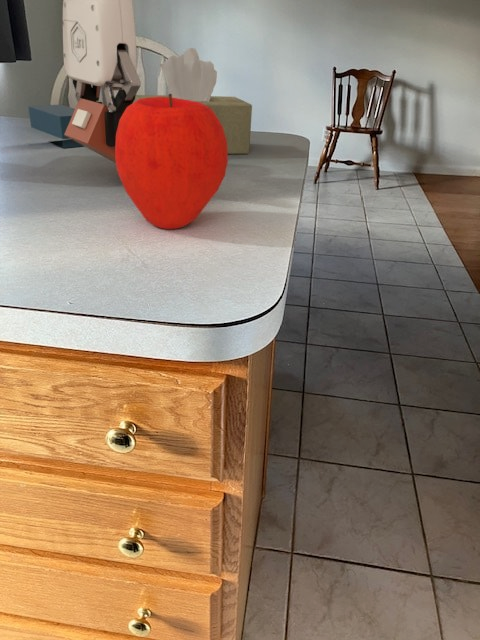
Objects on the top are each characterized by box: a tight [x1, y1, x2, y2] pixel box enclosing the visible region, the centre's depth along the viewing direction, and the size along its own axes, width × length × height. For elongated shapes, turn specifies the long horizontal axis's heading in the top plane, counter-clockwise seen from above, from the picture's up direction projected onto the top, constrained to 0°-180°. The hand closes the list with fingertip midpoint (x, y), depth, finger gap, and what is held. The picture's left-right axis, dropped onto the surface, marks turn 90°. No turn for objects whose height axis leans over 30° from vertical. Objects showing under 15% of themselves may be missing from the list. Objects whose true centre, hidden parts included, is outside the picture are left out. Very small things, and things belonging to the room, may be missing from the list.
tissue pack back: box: [28, 104, 84, 149], centre depth 94 cm, size 13×6×5 cm, turn 42°
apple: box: [115, 93, 229, 230], centre depth 57 cm, size 12×12×13 cm
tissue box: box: [133, 47, 253, 155], centre depth 91 cm, size 19×10×16 cm, turn 107°
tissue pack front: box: [64, 98, 116, 164], centre depth 71 cm, size 13×6×5 cm
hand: (104, 138), depth 69 cm, fingers closed on tissue pack front, 6 cm apart
